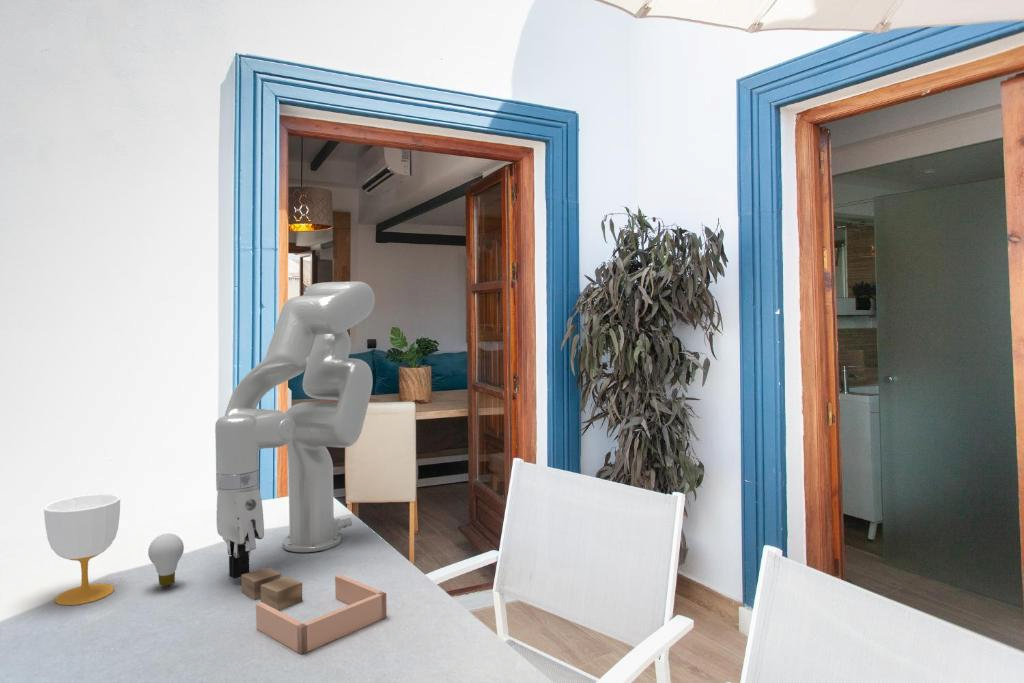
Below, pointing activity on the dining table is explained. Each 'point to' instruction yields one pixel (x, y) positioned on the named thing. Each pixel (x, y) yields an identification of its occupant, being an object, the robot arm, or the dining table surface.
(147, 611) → the dining table surface
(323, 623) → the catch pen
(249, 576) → the walnut tile
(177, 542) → the light bulb
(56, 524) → the cup
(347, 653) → the dining table surface
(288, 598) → the walnut tile
